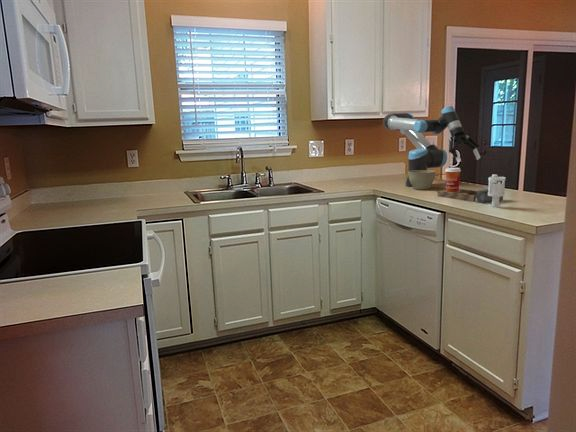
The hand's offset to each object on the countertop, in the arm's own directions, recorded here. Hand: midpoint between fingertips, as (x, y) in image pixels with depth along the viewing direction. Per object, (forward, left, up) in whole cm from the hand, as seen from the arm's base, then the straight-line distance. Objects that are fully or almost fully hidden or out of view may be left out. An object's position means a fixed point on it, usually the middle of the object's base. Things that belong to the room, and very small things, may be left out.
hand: (469, 160), depth 253 cm
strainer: (+47, -35, -17) cm, 61 cm away
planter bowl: (-18, -19, -17) cm, 32 cm away
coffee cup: (+12, -25, -17) cm, 33 cm away
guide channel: (+23, -25, -17) cm, 38 cm away
